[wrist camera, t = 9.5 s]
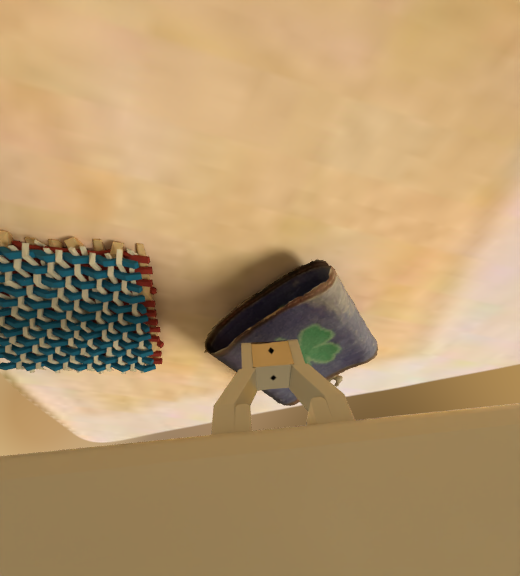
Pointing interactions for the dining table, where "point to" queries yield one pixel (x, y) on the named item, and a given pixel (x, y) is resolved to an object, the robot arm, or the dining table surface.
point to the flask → (299, 325)
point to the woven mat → (76, 307)
